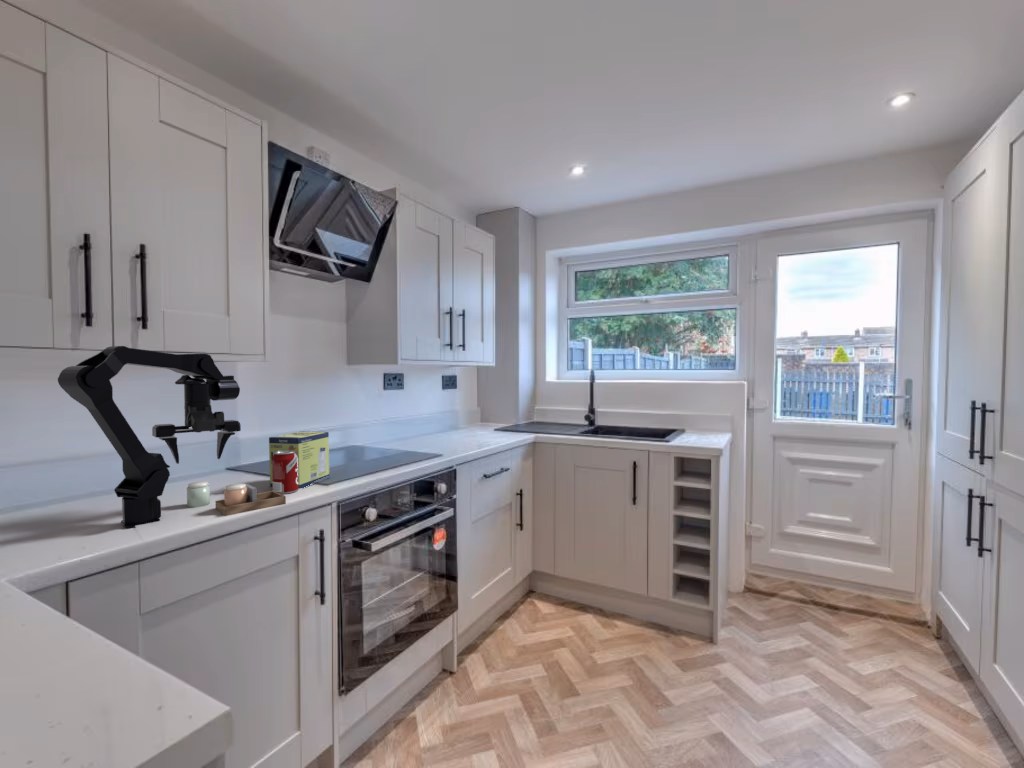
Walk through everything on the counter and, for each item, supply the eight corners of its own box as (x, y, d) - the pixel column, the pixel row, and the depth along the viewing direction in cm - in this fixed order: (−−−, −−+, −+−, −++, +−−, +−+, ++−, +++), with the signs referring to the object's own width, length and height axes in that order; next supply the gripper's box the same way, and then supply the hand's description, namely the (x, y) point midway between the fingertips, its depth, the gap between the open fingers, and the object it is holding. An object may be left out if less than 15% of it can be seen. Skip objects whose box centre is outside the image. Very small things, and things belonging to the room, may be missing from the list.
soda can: (280, 497, 134) (279, 454, 134) (268, 493, 138) (267, 452, 138) (303, 492, 140) (302, 451, 139) (291, 488, 144) (290, 449, 143)
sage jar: (189, 510, 122) (189, 486, 122) (185, 506, 126) (184, 483, 126) (212, 506, 126) (211, 483, 126) (207, 502, 130) (206, 480, 129)
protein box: (269, 488, 144) (267, 437, 144) (302, 477, 160) (301, 430, 159) (299, 490, 142) (298, 438, 142) (330, 478, 157) (329, 431, 157)
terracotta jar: (228, 513, 118) (227, 489, 118) (222, 509, 121) (221, 485, 121) (250, 508, 122) (249, 485, 121) (243, 505, 125) (243, 482, 125)
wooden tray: (225, 517, 116) (225, 507, 116) (215, 510, 122) (215, 500, 122) (285, 505, 126) (285, 496, 126) (273, 499, 132) (273, 490, 132)
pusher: (252, 508, 121) (252, 488, 121) (243, 503, 126) (243, 484, 126) (257, 507, 122) (256, 488, 122) (248, 502, 127) (247, 483, 126)
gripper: (159, 404, 113) (160, 470, 113) (246, 401, 126) (247, 460, 127) (151, 402, 121) (152, 464, 121) (233, 399, 134) (234, 455, 134)
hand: (198, 461), depth 126 cm, fingers open, 9 cm apart
